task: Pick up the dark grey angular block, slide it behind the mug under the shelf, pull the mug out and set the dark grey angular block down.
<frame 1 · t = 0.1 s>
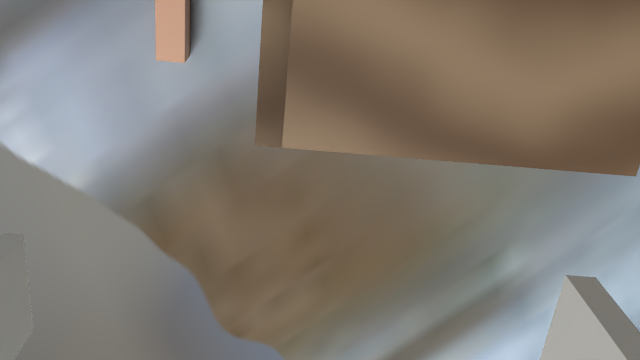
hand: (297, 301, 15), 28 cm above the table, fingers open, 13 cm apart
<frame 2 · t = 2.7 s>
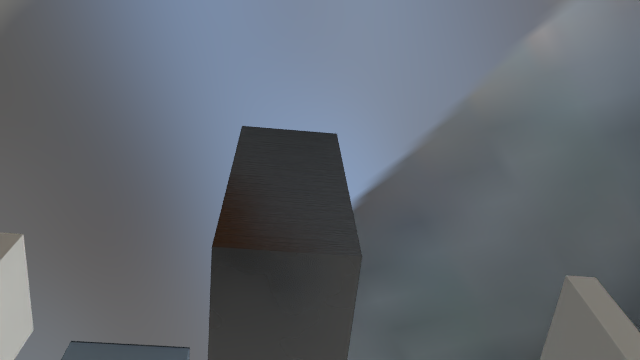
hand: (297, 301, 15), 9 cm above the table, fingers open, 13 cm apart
dark grey angular block: (286, 173, 23), on the table
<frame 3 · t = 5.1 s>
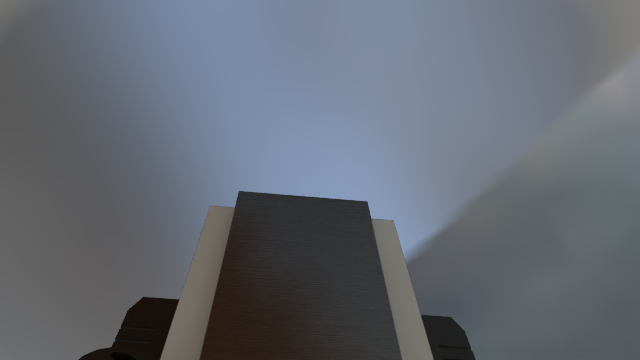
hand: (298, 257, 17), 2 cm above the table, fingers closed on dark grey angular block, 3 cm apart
dark grey angular block: (297, 252, 17), point 1 cm above the table, touching gripper
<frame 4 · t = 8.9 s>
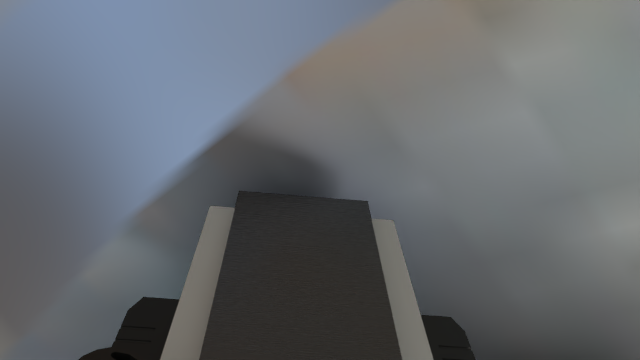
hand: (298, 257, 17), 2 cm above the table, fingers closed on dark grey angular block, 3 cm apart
dark grey angular block: (298, 251, 17), point 1 cm above the table, touching gripper
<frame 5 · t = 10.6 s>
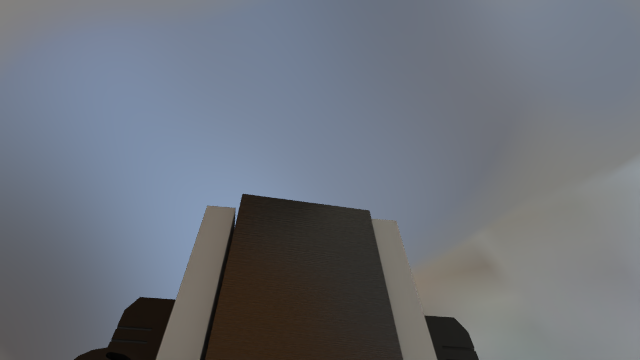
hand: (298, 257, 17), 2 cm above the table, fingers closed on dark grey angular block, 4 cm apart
dark grey angular block: (297, 257, 17), point 1 cm above the table, touching gripper, mug
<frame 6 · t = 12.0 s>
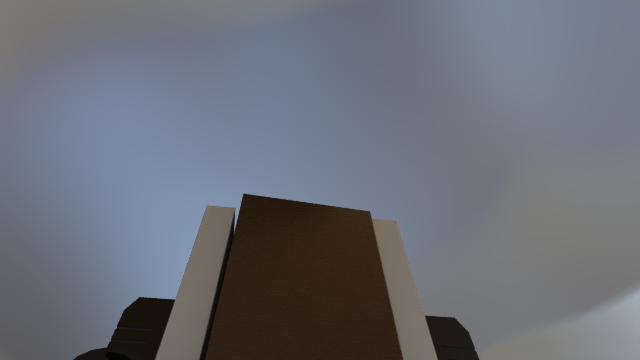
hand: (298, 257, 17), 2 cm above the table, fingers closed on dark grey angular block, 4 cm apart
dark grey angular block: (297, 257, 17), point 1 cm above the table, touching gripper, mug
when the fingers open (0 cm above the table, at t = 12.9 s): dark grey angular block stays where it is, on the table.
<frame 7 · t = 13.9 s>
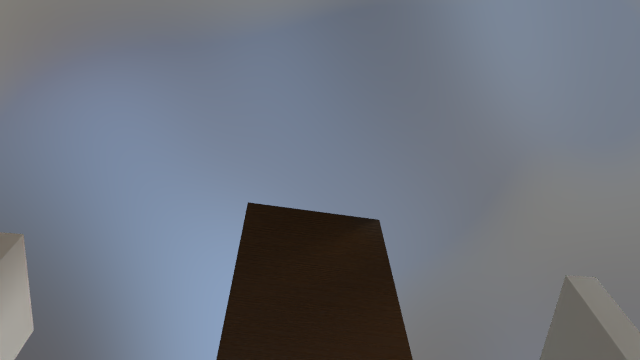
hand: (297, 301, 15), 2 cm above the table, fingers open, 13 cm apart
dark grey angular block: (304, 267, 17), on the table
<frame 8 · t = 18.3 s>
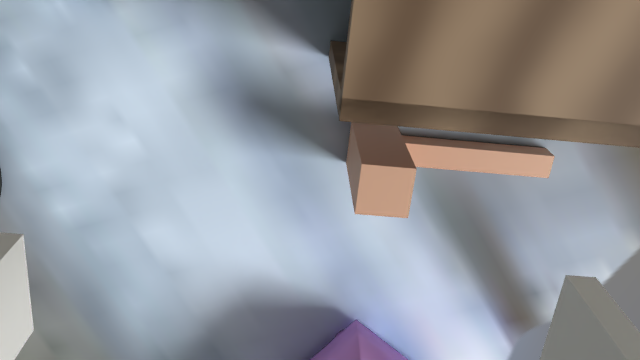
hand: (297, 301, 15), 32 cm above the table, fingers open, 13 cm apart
stick: (371, 143, 47), on the table
shelf: (451, 60, 45), on the table
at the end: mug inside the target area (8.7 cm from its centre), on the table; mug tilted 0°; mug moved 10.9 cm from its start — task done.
